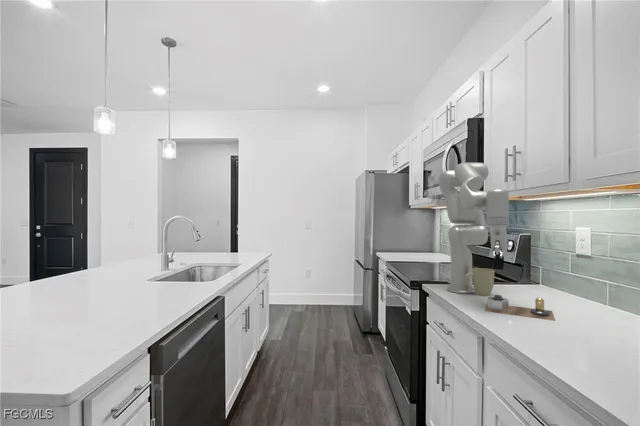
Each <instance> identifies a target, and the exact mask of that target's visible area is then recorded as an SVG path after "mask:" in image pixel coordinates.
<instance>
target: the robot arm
mask: <svg viewBox="0 0 640 426" xmlns="http://www.w3.org/2000/svg"><path fill="white" fill-rule="evenodd" d="M488 176H489V167H488V166H487V164H485V163H484V162H461V163H459V164H457V165H456V166H455V168H454V169H448V170H444V171H442V172H441V173H440V174H439V177H438V185H439V189H440V192H441V194H442V196H443V198H444V200H445V201H444V202H445V207H446V213H447V217H448V218H447V219H448V220H449V222H450V223H451V224H454V225H452V226H450V227H449V229H448V233H447V235H448V241H449V242H448V243H449V250H450V279H449V280H448V281H447V284H449V286H447V291H449V292H451V293H455V294H461V295H462V294H463V295H464V294H469V295H470V294H476V291H474V290H475V288H474V287H473V277H472V276H471V275H468V276H467V282H468V284H469V285H470V286H471V287H472V288H473V289H474V290H473V289H471V288H470V287H469V286H468V285H467V284H466V282H465V276H466V274H468V273H470V274H472V269H473V255H472V251H471V250H470V248H469V247H468V246H469V245H470V246H471V245H472V246H475V245H476V246H480V245H481V246H482V245H485V244H486V243H487V242H488V239H489V238H490V248H491V252H492V253H493V258H492V270H499V271H500V270H501V271H503V270H504V266H505V257H504V254H506V253H508V243H507V242H508V237H507V236H508V235H507V234H508V233H507V227H510V207H509V206H510V205H509V204H510V202H509V199H510V198H509V197H510V195H509V191H508V190H506V189H501V188H499V189H490V190H482V191H481V190H480V189H482V188H483V185H484V181H485V180H487V178H488ZM456 187H457V188H459V187H460V188H459V190H458V189H456ZM483 211H486V212H485V213H486V215H484V212H483ZM485 216H486V218H485ZM487 227H489V230H490V231H489V233H488V228H487ZM489 234H490V237H489Z"/></svg>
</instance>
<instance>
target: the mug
mask: <svg viewBox="0 0 640 426" xmlns="http://www.w3.org/2000/svg"><path fill="white" fill-rule="evenodd" d="M468 275H471V276H472V287H471V286H470V285H469V284H468V282H467V276H468ZM465 282H466V284H467V285H468V286H469V287H470V288H471V289H473V288H474V289H475V290H474V289H473V290H474V291H476V292H475V294H476V296H477V295H478V296H483V297H484V296H485V297H490V296H491V295H492V291H493V288H494V283H495V269H493V268H483V267H481V268H480V267H476V268H472V274H470V273H468V274H466V276H465Z"/></svg>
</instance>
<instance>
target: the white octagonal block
mask: <svg viewBox="0 0 640 426" xmlns="http://www.w3.org/2000/svg"><path fill="white" fill-rule="evenodd" d="M487 303H488V308H489V309H492V310H496V311H508V310H509V306H510V305H509V303H510V301H509V298H505V297H502V300H494V296H487Z"/></svg>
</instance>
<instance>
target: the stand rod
mask: <svg viewBox="0 0 640 426" xmlns="http://www.w3.org/2000/svg"><path fill="white" fill-rule="evenodd" d="M493 297H494V300H502V298H503V297H502V295H501V294H494V295H493Z"/></svg>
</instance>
